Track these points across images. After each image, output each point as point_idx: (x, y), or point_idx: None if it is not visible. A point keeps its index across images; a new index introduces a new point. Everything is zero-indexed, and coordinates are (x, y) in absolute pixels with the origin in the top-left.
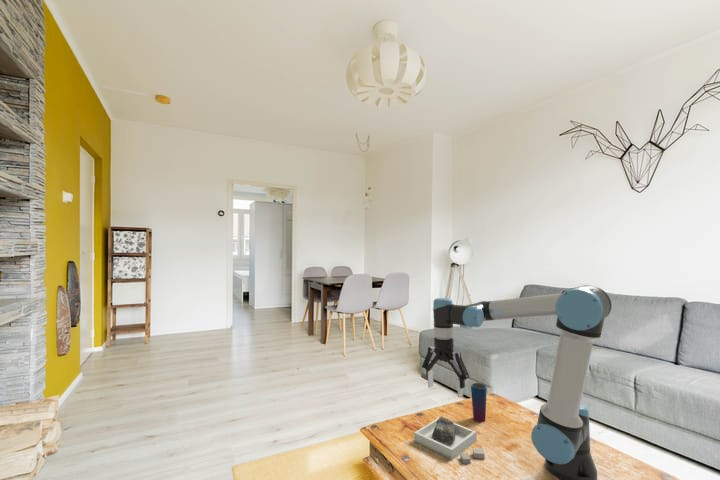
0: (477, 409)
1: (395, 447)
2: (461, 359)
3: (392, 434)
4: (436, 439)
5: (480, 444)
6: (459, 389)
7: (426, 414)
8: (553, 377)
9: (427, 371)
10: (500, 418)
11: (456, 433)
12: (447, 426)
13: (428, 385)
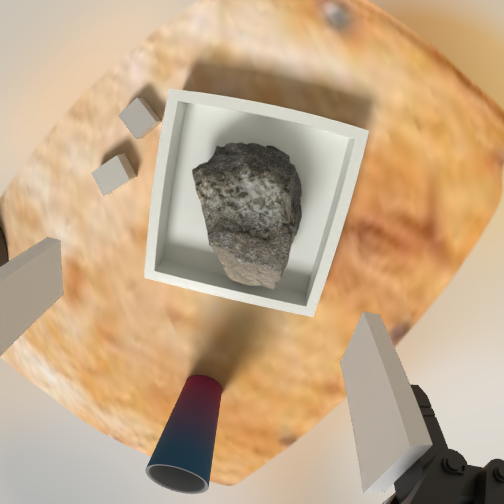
0: (191, 403)
1: (401, 59)
2: None
3: (449, 141)
4: None
5: (138, 247)
6: (6, 265)
7: None
8: None
9: (431, 446)
10: (158, 408)
11: None
12: (225, 206)
13: (379, 323)
